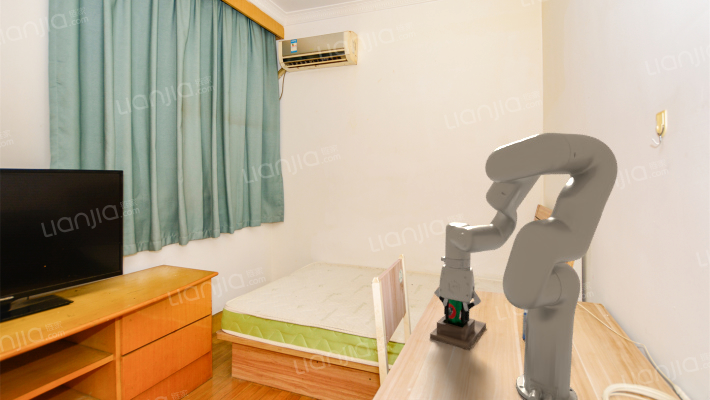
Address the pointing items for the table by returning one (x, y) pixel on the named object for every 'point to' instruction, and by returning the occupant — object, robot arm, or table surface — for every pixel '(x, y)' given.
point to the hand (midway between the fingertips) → (456, 318)
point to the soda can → (455, 313)
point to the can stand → (458, 333)
